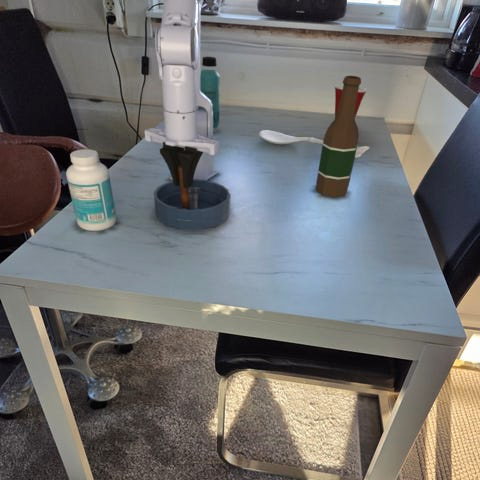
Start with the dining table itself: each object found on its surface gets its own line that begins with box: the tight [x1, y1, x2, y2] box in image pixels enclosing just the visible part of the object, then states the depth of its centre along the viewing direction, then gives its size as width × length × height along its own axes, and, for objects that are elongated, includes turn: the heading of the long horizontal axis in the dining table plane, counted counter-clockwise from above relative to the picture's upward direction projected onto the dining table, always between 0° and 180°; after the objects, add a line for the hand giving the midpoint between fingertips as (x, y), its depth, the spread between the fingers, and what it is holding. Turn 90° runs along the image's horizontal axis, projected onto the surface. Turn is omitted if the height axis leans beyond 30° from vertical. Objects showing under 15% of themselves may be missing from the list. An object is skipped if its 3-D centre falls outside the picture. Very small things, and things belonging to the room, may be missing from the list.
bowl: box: [153, 179, 232, 231], centre depth 87 cm, size 15×15×4 cm
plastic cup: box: [334, 84, 368, 118], centre depth 142 cm, size 11×11×12 cm
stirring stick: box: [178, 165, 190, 209], centre depth 83 cm, size 2×2×10 cm
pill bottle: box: [65, 148, 117, 232], centre depth 79 cm, size 8×7×14 cm
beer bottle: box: [315, 75, 362, 199], centre depth 93 cm, size 8×8×24 cm
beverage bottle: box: [197, 56, 221, 130], centre depth 127 cm, size 6×7×20 cm
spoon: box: [258, 129, 370, 159], centre depth 122 cm, size 9×32×4 cm, turn 60°
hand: (183, 185), depth 82 cm, fingers closed on stirring stick, 1 cm apart
